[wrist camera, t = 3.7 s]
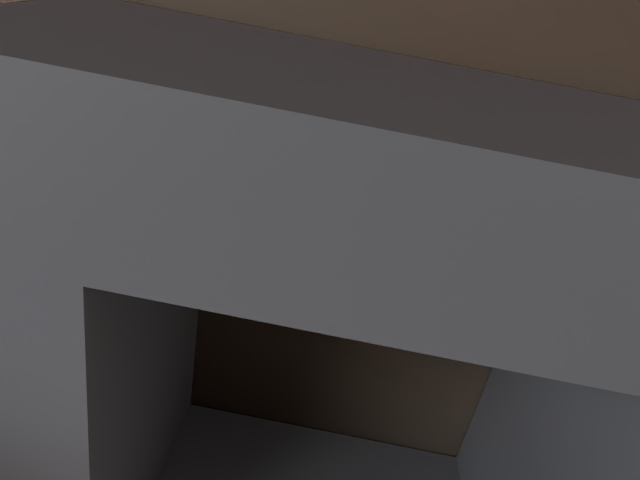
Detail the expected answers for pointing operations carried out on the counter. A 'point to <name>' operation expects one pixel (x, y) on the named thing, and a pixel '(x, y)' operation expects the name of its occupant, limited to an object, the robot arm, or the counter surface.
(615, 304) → the grey rectangular frame block
